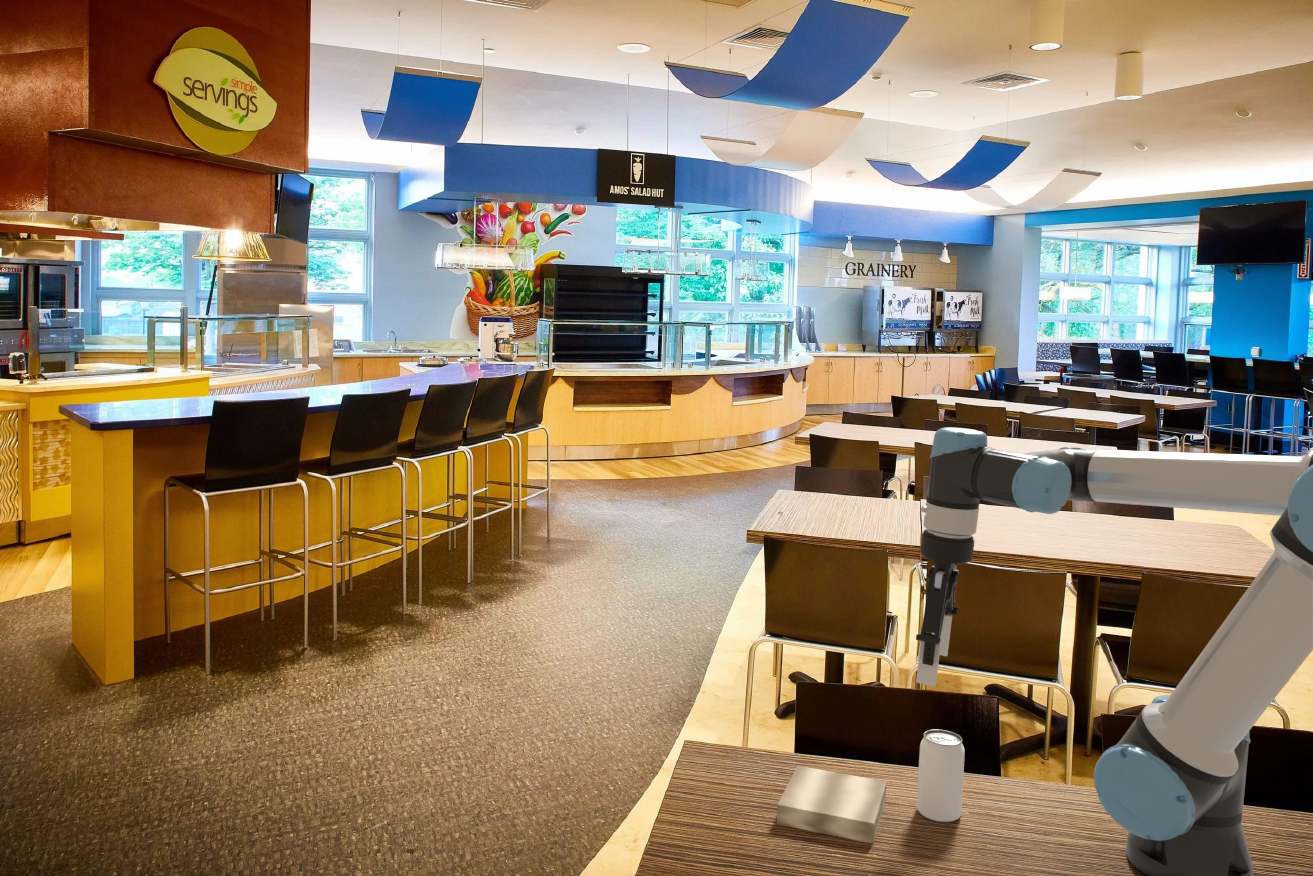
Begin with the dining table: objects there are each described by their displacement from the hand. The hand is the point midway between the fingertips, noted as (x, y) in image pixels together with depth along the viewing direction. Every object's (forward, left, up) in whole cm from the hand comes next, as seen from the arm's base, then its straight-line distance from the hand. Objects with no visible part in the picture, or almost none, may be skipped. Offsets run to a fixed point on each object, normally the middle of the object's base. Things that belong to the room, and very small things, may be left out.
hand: (932, 668), depth 142 cm
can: (-2, +1, -22) cm, 22 cm away
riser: (+13, +7, -22) cm, 26 cm away
